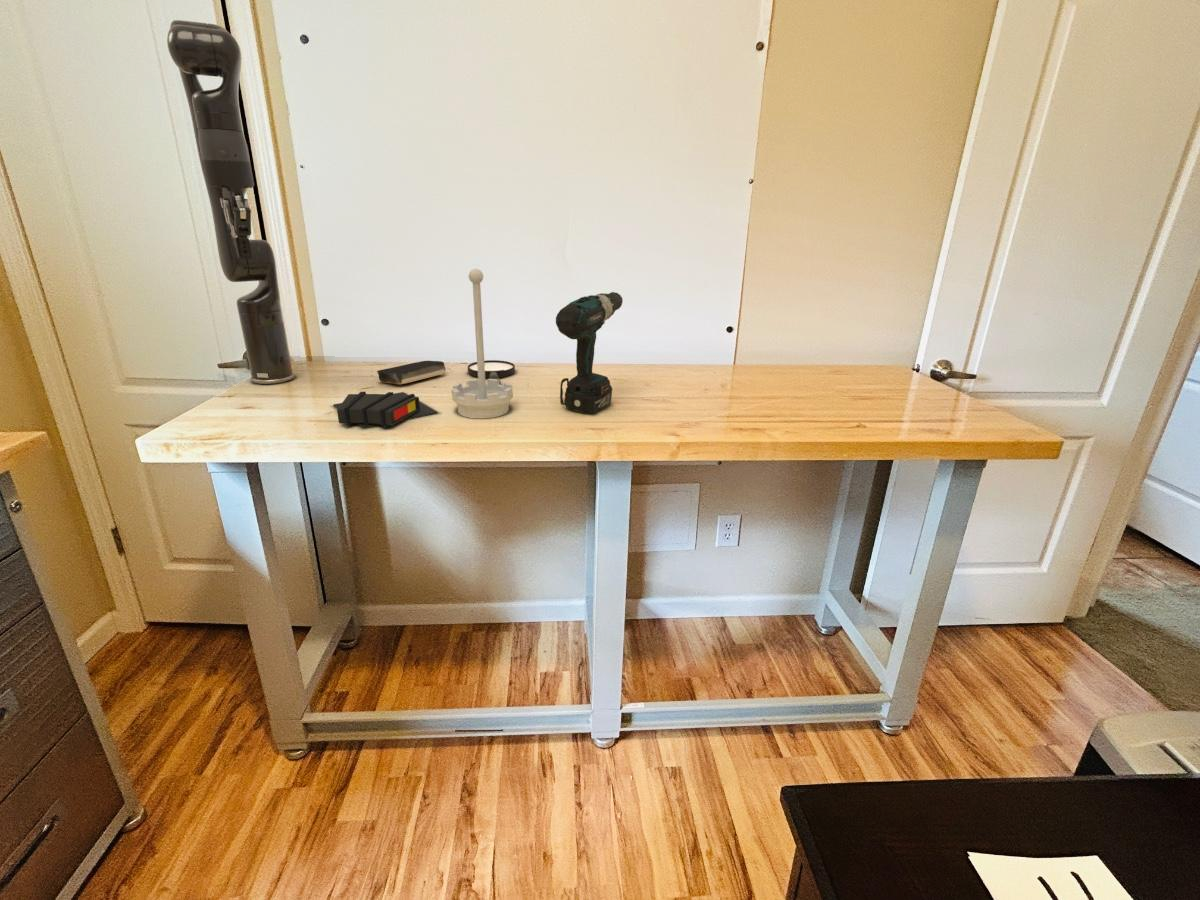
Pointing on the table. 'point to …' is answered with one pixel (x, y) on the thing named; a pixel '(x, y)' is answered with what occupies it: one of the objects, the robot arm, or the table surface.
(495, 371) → the magnifying glass
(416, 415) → the mat
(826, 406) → the table surface
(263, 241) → the robot arm
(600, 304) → the power drill
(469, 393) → the flag stand
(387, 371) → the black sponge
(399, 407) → the black tall stepped block
